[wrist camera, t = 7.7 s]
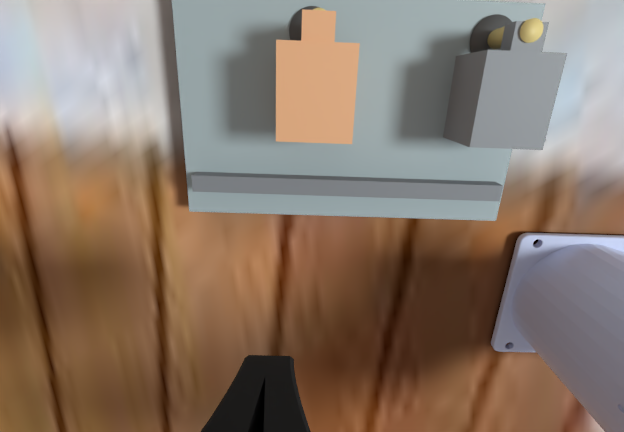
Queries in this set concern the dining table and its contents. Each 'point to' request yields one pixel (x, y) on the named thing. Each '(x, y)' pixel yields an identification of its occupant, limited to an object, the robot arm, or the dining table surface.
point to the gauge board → (366, 107)
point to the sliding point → (316, 83)
